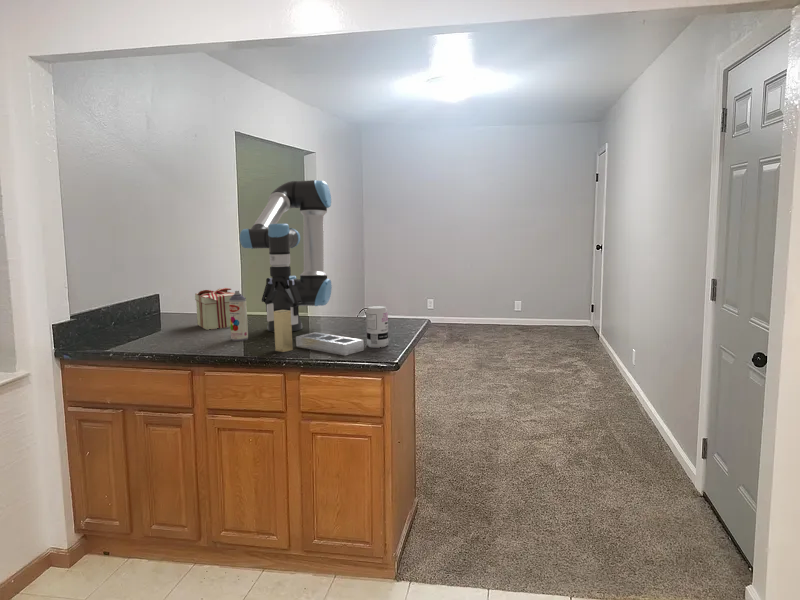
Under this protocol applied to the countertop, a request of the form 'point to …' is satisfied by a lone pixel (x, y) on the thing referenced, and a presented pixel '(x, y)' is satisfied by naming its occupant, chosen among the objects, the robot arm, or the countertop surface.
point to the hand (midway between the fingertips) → (282, 322)
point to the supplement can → (377, 326)
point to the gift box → (213, 308)
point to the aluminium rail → (330, 343)
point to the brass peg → (283, 330)
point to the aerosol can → (238, 317)
